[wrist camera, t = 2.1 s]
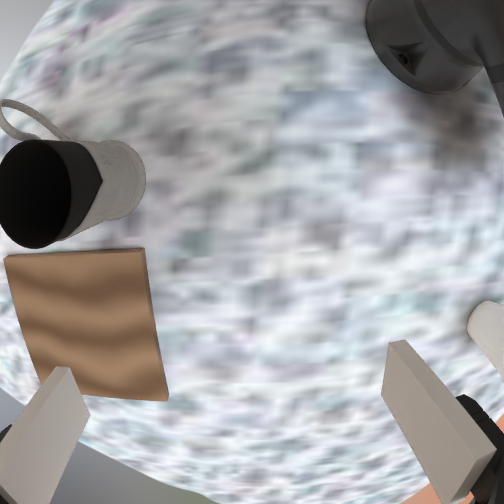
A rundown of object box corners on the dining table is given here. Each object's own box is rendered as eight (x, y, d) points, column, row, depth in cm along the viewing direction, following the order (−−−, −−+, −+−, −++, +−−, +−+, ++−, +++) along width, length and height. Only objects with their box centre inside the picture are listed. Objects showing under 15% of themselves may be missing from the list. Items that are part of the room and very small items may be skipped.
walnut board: (9, 255, 34) (3, 258, 32) (144, 248, 34) (140, 251, 33) (46, 382, 39) (42, 388, 37) (169, 394, 39) (167, 401, 38)
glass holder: (102, 235, 34) (28, 280, 19) (41, 139, 30) (-48, 137, 16) (161, 188, 33) (106, 206, 18) (94, 89, 29) (16, 54, 15)
